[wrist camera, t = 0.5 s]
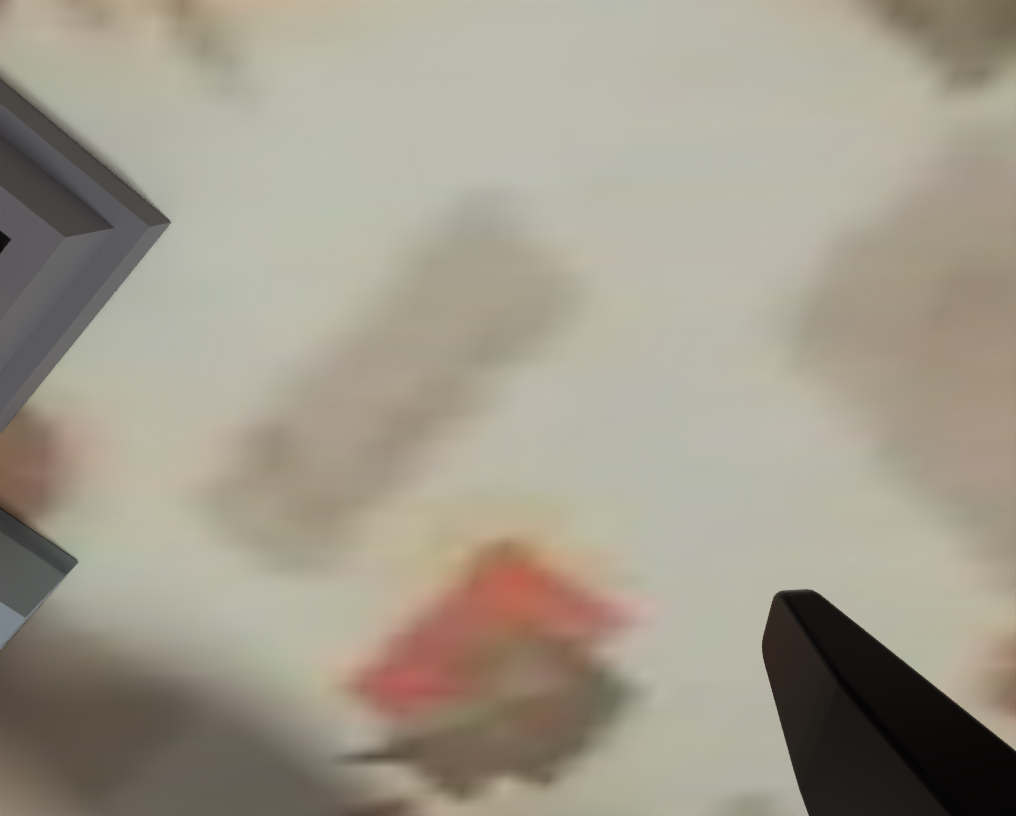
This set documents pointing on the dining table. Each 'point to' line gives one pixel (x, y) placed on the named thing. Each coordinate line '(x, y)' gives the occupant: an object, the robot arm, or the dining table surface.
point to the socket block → (57, 245)
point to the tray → (26, 574)
